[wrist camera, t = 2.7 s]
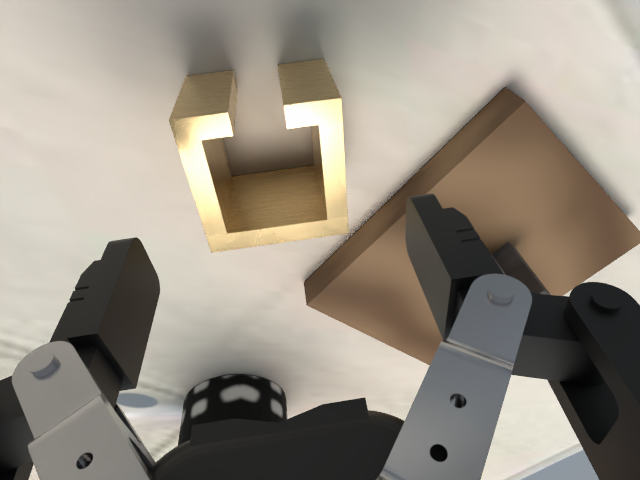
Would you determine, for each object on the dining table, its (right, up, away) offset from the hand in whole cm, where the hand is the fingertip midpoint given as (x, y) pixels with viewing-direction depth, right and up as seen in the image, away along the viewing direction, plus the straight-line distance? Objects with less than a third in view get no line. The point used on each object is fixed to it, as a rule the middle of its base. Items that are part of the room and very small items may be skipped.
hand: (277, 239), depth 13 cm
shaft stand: (+11, -1, +15) cm, 18 cm away
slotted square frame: (-1, +5, +8) cm, 10 cm away
